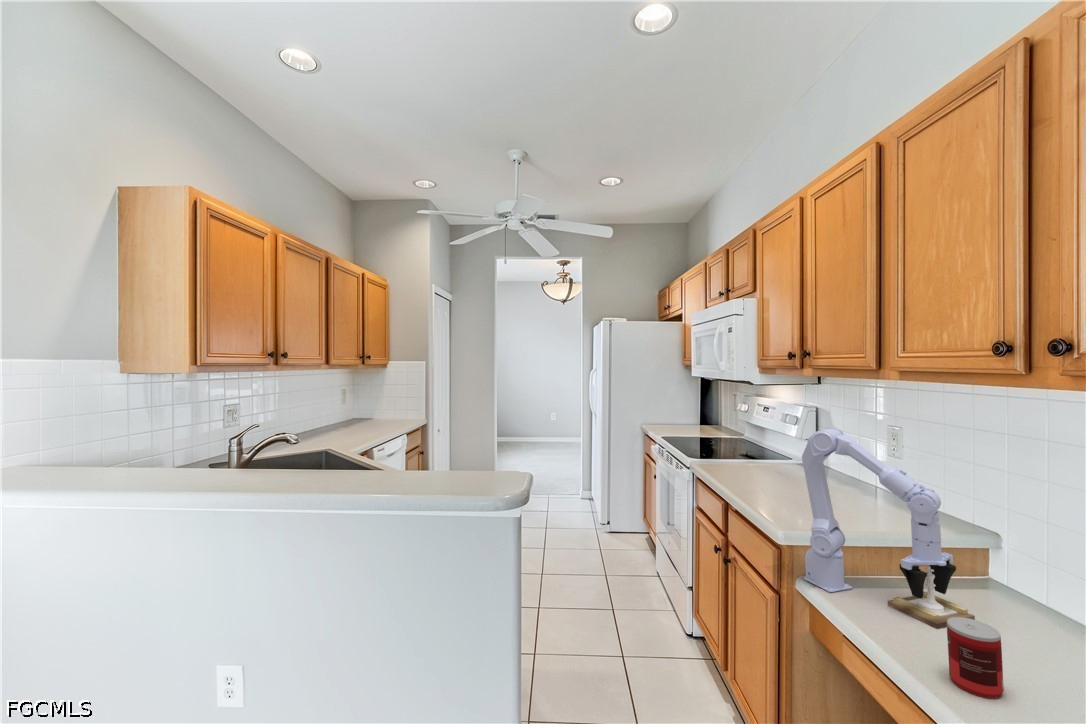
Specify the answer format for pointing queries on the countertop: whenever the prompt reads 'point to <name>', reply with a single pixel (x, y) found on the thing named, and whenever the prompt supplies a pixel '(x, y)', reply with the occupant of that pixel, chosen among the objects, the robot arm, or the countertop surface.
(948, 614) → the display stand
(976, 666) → the canned food
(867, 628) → the countertop surface
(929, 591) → the chess piece
